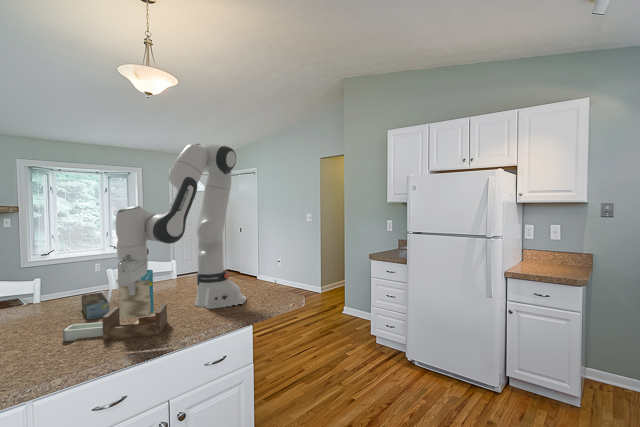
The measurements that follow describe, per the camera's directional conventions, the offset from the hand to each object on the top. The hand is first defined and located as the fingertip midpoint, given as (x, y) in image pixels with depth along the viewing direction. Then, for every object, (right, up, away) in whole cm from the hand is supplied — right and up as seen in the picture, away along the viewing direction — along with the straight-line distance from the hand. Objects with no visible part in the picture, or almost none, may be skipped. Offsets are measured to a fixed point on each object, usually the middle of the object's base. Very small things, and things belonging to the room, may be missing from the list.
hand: (134, 293), depth 114 cm
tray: (-16, -15, 0) cm, 22 cm away
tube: (-6, -14, +19) cm, 24 cm away
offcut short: (+2, -12, +6) cm, 13 cm away
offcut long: (+1, -14, +6) cm, 15 cm away
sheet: (0, -8, 0) cm, 8 cm away
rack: (-1, -14, +3) cm, 15 cm away
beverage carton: (-31, -15, +25) cm, 43 cm away
